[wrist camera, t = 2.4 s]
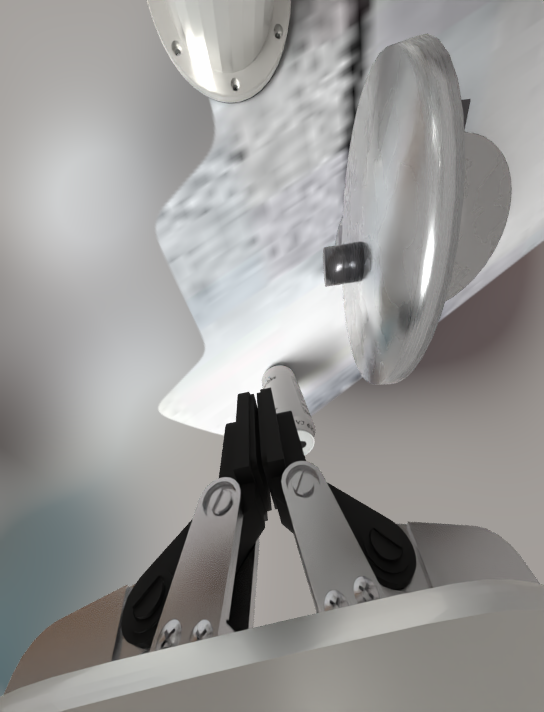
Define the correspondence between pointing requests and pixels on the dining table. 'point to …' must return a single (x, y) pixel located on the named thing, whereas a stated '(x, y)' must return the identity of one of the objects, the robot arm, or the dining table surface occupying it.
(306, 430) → the energy drink can
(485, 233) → the pot
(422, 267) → the lid
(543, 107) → the dining table surface
